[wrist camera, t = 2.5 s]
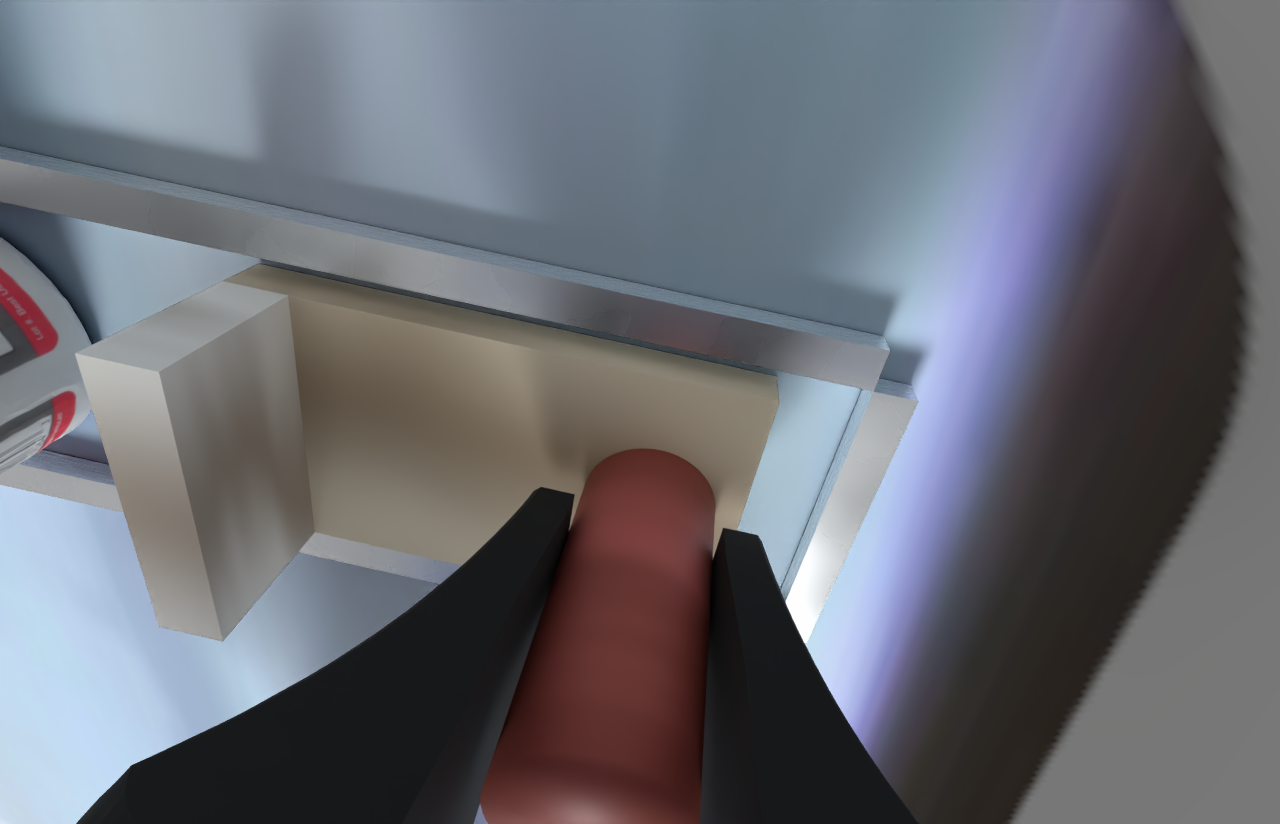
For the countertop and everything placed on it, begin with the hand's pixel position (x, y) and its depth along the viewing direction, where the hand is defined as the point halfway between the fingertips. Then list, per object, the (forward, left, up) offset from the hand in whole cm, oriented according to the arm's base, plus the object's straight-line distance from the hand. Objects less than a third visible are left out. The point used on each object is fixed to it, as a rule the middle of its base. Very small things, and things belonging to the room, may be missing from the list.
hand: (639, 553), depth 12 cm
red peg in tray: (0, +3, -2) cm, 4 cm away
